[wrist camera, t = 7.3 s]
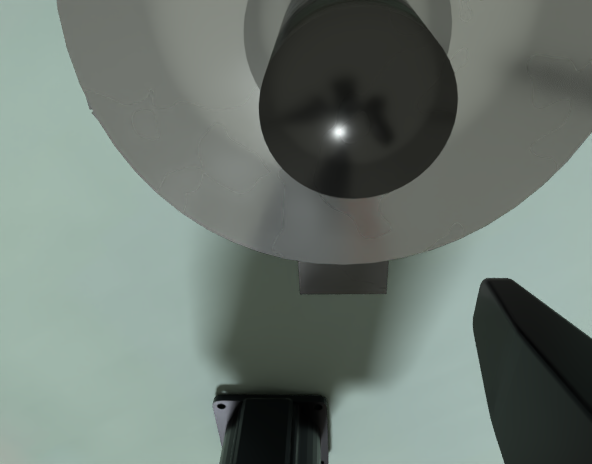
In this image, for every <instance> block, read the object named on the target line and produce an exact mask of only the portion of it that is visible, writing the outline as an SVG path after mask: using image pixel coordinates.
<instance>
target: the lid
mask: <svg viewBox="0 0 592 464" xmlns="http://www.w3.org/2000/svg"><path fill="white" fill-rule="evenodd" d="M57 7H58V13H59V17H60V21H61V25H62V29H63V34H64V38H65V42H66V46H67V50H68V53H69V55H70V58H71V61H72V64H73V66H74V69H75V72H76V75H77V77H78V80H79V83H80V85H81V87H82V89H83V91H84V93H85V96H86V98H87V100H88V102H89V104H90V106H91V108H92V110H93V112H94V114H95V116H96V118H97V119H98V121H99V122H100V124H101V125H102V127H103V128H104V130H105V132H106V133H107V135H108V136H109V138H110V139H111V141H112V143H113V144H114V146H115V147H116V148H117V149H118V151H119V152H120V153H121V154H122V156H123V157H124V158H125V159H126V161H127V162H128V163H129V164H130V166H131V167H132V168H133V169H134V170H135V172H136V173H137V174H138V175H139V176H140V177H141V178H142V179H143V180H144V181H145V182H146V183H147V184H148V185H149V186H150V187H151V188H152V189H153V190H154V191H155V192H156V193H157V194H159V195H160V196H161V197H162V198H164V199H165V200H166V201H167V202H169V203H170V204H171V205H172V206H174V207H175V208H176V209H177V210H179V211H180V212H181V213H182V214H184V215H185V216H187V217H189V218H190V219H192V220H193V221H195V222H196V223H198V224H200V225H201V226H203V227H204V228H206V229H208V230H210V231H212V232H214V233H216V234H218V235H220V236H222V237H224V238H226V239H228V240H230V241H232V242H234V243H237V244H239V245H242V246H245V247H247V248H250V249H253V250H256V251H258V252H261V253H265V254H269V255H273V256H277V257H281V258H285V259H289V260H296V261H303V262H310V263H317V264H342V265H347V264H363V263H375V262H381V261H387V260H393V259H399V258H404V257H408V256H412V255H415V254H419V253H423V252H426V251H430V250H433V249H435V248H438V247H441V246H443V245H446V244H448V243H451V242H454V241H456V240H459V239H461V238H463V237H465V236H467V235H469V234H471V233H473V232H475V231H477V230H479V229H481V228H483V227H485V226H487V225H489V224H490V223H492V222H493V221H495V220H496V219H498V218H499V217H501V216H503V215H504V214H506V213H507V212H509V211H510V210H512V209H513V208H515V207H516V206H518V205H519V204H520V203H521V202H523V201H524V200H525V199H526V198H528V197H529V196H530V195H532V194H533V193H534V192H535V191H537V190H538V189H539V188H540V187H542V186H543V185H544V184H545V183H546V182H547V181H548V180H549V179H550V178H551V177H552V176H553V175H554V174H555V173H556V172H557V171H558V170H559V169H560V168H561V167H562V166H563V165H564V164H565V163H566V162H567V161H568V160H569V159H570V158H571V157H572V155H573V154H574V153H575V152H576V151H577V149H578V148H579V147H580V146H581V145H582V143H583V142H584V141H585V140H586V139H587V137H588V136H589V135H590V134H591V132H592V0H57Z"/></svg>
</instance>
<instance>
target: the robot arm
mask: <svg viewBox="0 0 592 464" xmlns="http://www.w3.org/2000/svg"><path fill="white" fill-rule="evenodd" d="M473 332H474V337H475V342H476V348H477V353H478V358H479V363H480V368H481V373H482V378H483V383H484V388H485V394H486V399H487V404H488V408H489V413H490V418H491V421H492V425H493V428H494V432H495V435H496V438H497V441H498V444H499V448H500V451H501V454H502V457H503V460H504V463H505V464H592V338H590V337H589V336H588V335H586V334H585V333H584V332H582V331H581V330H580V329H578V328H577V327H576V326H574V325H573V324H572V323H570V322H569V321H567V320H566V319H565V318H563V317H562V316H561V315H559V314H558V313H557V312H555V311H554V310H553V309H551V308H550V307H549V306H547V305H546V304H545V303H543V302H542V301H540V300H539V299H538V298H536V297H535V296H534V295H532V294H531V293H530V292H528V291H527V290H526V289H524V288H523V287H522V286H520V285H519V284H517V283H516V282H515V281H513V280H511V279H508V278H486V279H484V280H483V281H482V283H481V285H480V288H479V293H478V297H477V302H476V307H475V311H474V316H473ZM213 410H214V414H215V419H216V423H217V427H218V432H219V436H220V440H221V445H222V452H221V457H220V463H219V464H328V424H327V400H326V399H325V398H324V397H322V396H302V395H218V396H216V397H215V398H214V401H213Z"/></svg>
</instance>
